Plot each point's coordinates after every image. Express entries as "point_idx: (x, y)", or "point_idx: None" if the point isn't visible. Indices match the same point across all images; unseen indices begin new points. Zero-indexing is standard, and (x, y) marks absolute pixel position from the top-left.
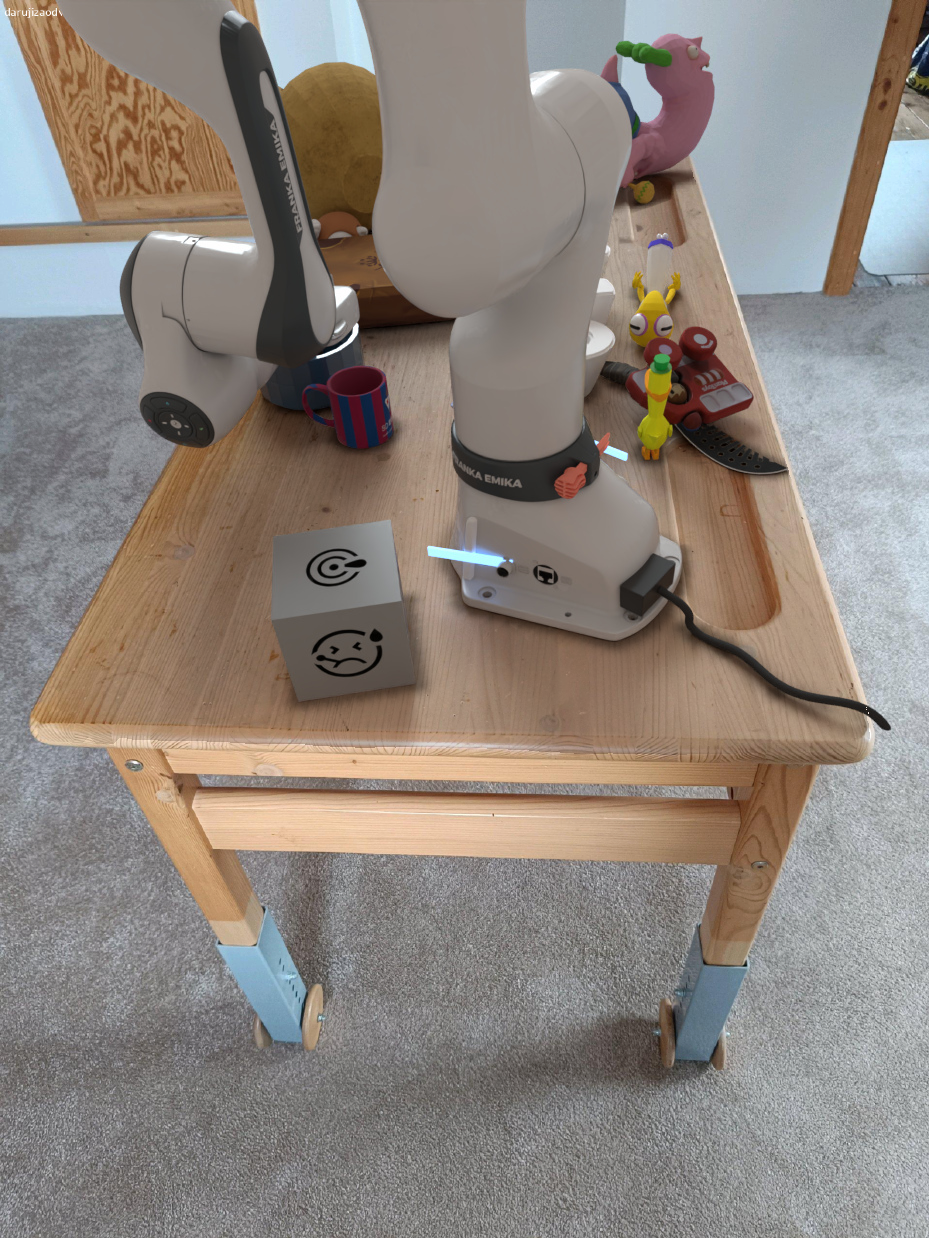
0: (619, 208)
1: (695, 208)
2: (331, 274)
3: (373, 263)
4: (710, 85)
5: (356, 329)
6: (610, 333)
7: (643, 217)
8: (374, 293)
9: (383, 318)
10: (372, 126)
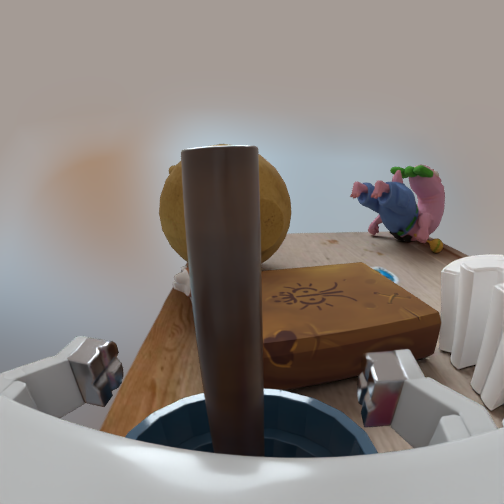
0: (424, 255)
1: (466, 255)
2: (408, 349)
3: (292, 300)
4: (444, 192)
5: (370, 445)
6: None
7: (446, 260)
8: (319, 344)
9: (325, 375)
10: (265, 178)
